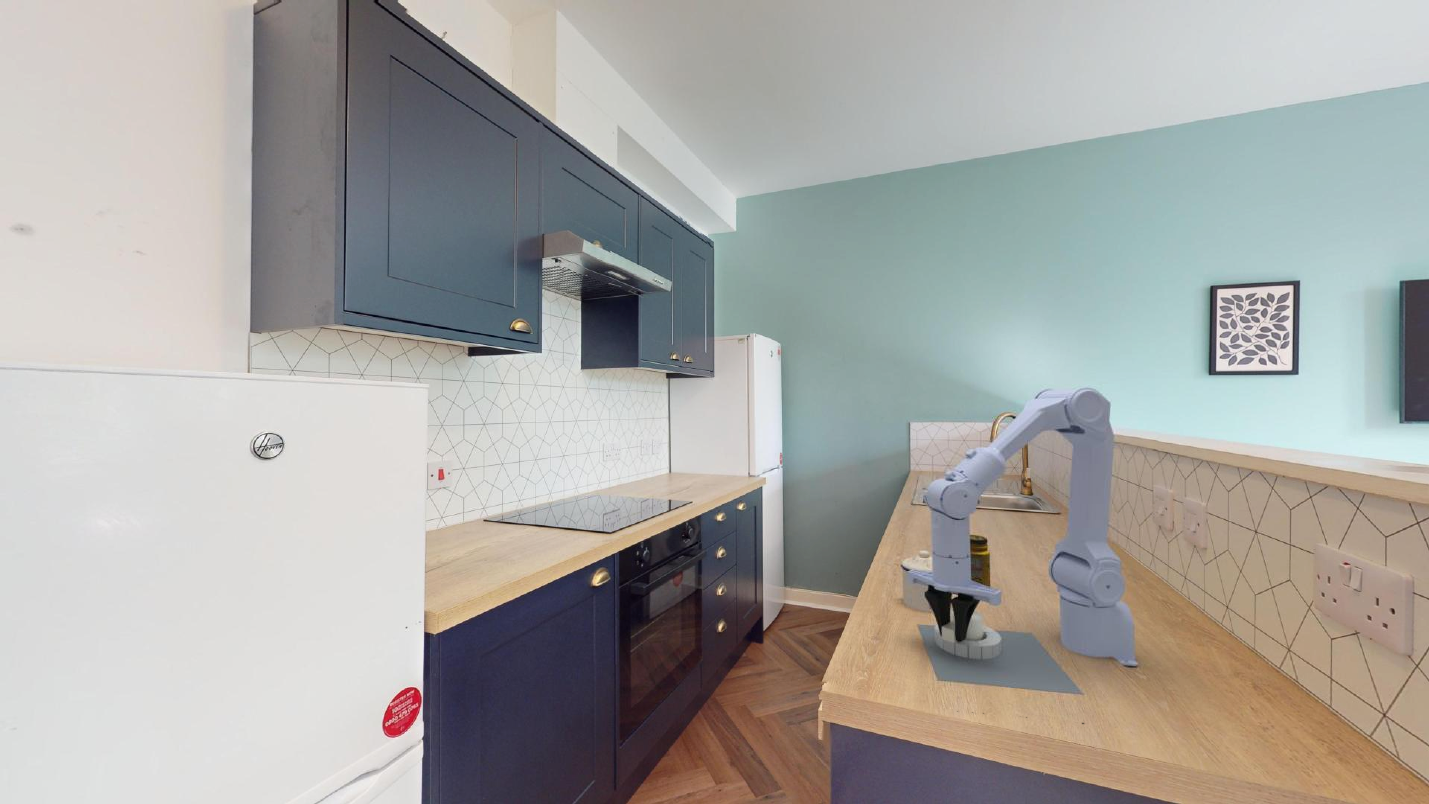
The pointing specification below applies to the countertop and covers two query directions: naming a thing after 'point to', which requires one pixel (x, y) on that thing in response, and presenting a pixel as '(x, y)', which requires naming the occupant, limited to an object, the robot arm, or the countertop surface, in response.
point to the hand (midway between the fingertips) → (952, 637)
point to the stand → (996, 661)
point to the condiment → (980, 560)
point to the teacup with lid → (916, 592)
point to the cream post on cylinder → (973, 631)
